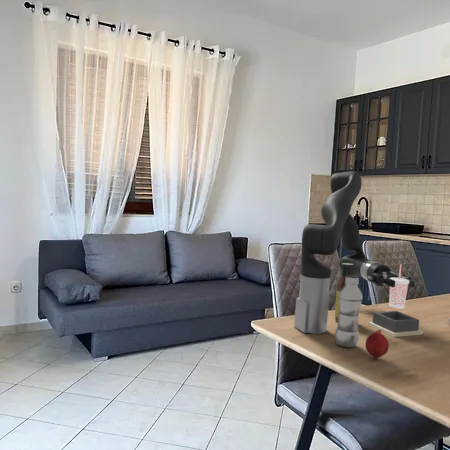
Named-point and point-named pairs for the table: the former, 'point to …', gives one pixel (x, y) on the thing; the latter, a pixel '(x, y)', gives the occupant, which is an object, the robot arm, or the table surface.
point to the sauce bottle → (342, 284)
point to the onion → (377, 344)
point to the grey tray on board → (395, 324)
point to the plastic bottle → (349, 313)
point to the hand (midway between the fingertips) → (403, 284)
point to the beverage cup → (398, 292)
